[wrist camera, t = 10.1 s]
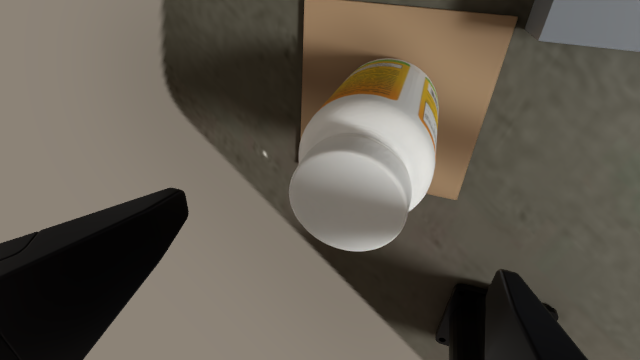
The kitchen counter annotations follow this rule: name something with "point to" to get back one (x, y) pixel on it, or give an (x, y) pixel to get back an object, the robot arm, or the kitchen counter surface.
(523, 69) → the kitchen counter surface
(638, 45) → the grey rectangular frame
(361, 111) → the supplement bottle
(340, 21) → the pad
